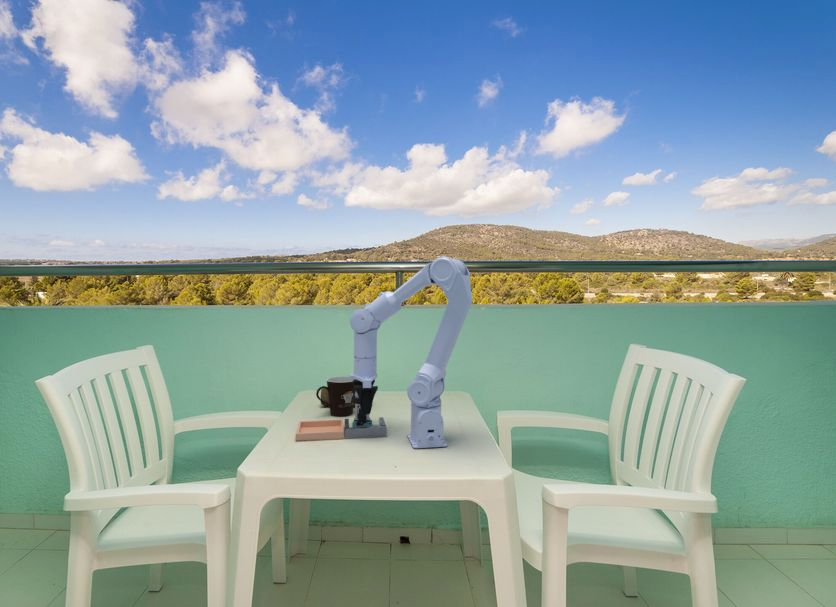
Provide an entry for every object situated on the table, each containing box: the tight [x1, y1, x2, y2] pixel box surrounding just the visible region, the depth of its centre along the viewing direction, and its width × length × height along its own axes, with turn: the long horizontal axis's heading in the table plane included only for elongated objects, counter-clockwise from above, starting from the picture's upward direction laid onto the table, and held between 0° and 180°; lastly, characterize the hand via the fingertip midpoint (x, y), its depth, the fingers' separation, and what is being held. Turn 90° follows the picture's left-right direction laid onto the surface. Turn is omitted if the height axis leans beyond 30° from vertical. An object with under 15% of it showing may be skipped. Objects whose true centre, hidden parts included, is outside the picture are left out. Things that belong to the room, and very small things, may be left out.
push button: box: [351, 392, 379, 427], centre depth 113 cm, size 7×5×10 cm
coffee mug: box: [315, 376, 356, 418], centre depth 129 cm, size 12×9×10 cm
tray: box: [295, 419, 345, 442], centre depth 111 cm, size 10×11×2 cm
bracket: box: [343, 416, 388, 440], centre depth 113 cm, size 8×10×2 cm
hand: (364, 410), depth 113 cm, fingers open, 6 cm apart
